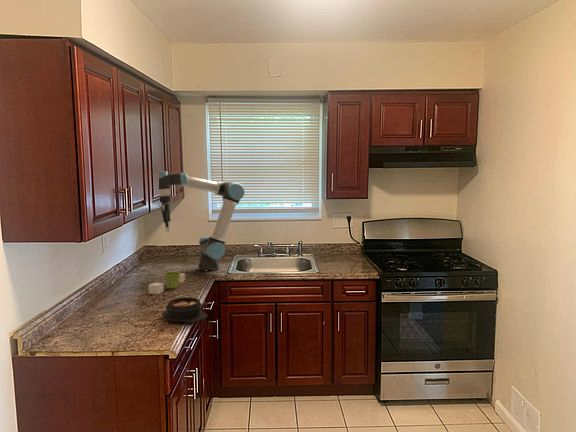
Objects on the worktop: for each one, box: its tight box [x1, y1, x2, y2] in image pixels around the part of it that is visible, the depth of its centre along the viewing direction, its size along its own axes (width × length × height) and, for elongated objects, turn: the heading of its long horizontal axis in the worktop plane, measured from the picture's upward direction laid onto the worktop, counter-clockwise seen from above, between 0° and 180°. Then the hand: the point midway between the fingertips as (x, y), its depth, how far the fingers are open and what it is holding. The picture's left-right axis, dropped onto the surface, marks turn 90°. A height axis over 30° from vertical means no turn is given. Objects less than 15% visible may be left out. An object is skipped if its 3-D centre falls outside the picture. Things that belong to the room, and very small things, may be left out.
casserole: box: [161, 296, 208, 324], centre depth 214 cm, size 25×19×8 cm
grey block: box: [148, 282, 165, 295], centre depth 259 cm, size 6×6×5 cm
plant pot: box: [163, 271, 180, 289], centre depth 269 cm, size 9×9×9 cm
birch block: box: [178, 272, 186, 284], centre depth 282 cm, size 6×6×5 cm
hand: (168, 231), depth 286 cm, fingers closed
